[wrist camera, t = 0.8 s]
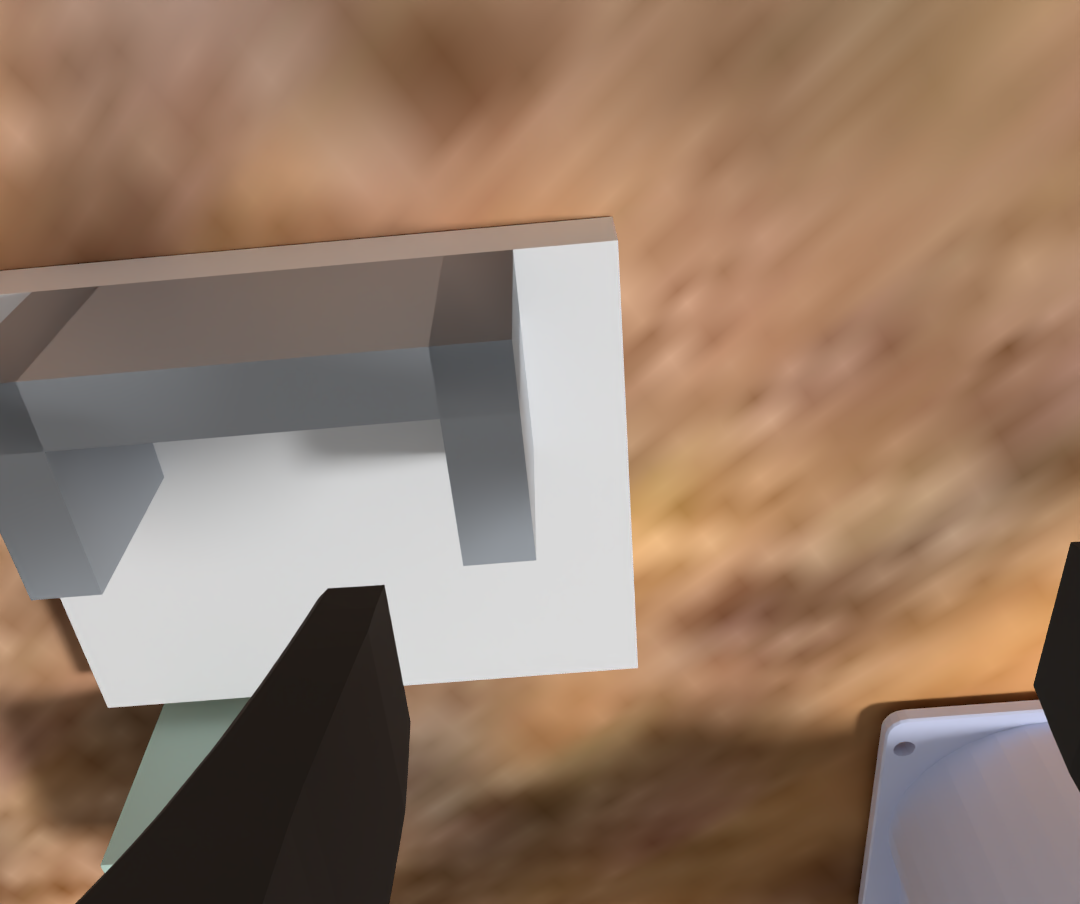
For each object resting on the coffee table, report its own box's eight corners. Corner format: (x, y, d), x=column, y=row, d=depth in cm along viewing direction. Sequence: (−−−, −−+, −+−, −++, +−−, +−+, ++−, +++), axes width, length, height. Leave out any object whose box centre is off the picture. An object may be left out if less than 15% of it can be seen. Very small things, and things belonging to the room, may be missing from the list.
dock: (632, 631, 24) (656, 796, 20) (125, 670, 24) (48, 840, 20) (612, 216, 18) (638, 328, 15) (-39, 274, 19) (-188, 398, 15)
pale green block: (374, 807, 27) (348, 994, 23) (225, 818, 27) (170, 1005, 23) (339, 669, 24) (301, 851, 20) (173, 682, 24) (100, 865, 20)
